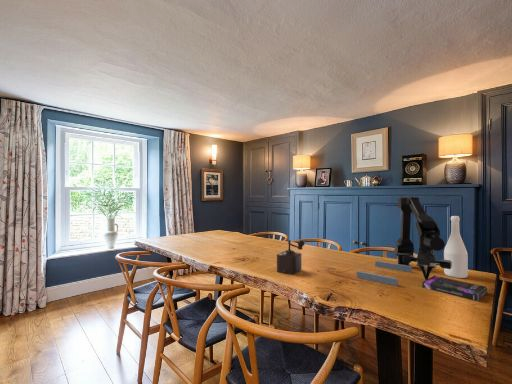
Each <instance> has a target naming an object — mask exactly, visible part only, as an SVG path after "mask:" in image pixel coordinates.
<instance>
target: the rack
mask: <svg viewBox="0 0 512 384" xmlns="http://www.w3.org/2000/svg"><path fill="white" fill-rule="evenodd" d="M374 267H378V268H382V269H388V270H389V269H390V270H394V271H399V272H400V271H401V272H405V273H412V271H413V270H412V269H413V268H412V265H411V266H406V265H400V264H398V263H394V262H393V263H392V262H387V261H386V262H385V261H380V260H375V262H374ZM356 278H357V279H362V280H366V281H372V282H375V283H376V282H377V283H380V284H386V285H390V286H391V285H392V286H395V287H398V286H399V278H395V277H391V276H386V275H382V274H381V275H380V274H377V273H376V274H375V273H371V272H364V271H360V270H357V271H356Z"/></svg>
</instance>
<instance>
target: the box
mask: <svg viewBox="0 0 512 384" xmlns="http://www.w3.org/2000/svg"><path fill="white" fill-rule="evenodd" d="M421 288H424V289H426V290H431V291H435V292H439V293H444V294H446V295H451V296H455V297H459V298H463V299H465V300H466V299H467V300H471V301H474V302H479V301H480V300H481V299H482V298H483V297H485V296H486V295H487V294H488V286H485V285H480V284H476V283H471V282H467V281H462V280H456V279H453V278H449V277H444V276H438V275H433V276H431V277H429V278H428V279H427V280H425V279H424V280H422V282H421Z"/></svg>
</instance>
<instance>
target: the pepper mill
mask: <svg viewBox="0 0 512 384" xmlns="http://www.w3.org/2000/svg"><path fill="white" fill-rule="evenodd" d="M296 243H297V245H296V244H292V243H291V240H290V239H289V240H288V243H287V245H288V249H287V250H284V251H282V252H279V253H277V254H276V272H277V273H280V274H288V275H296V274H297V275H298V273H300V272H301V271H302V253H301V252H296V251H294V250H292V249H291V246H292V247H293V248H297V249H298V250H300V251H301V250H303V247H304V246H305V240H303V239H299V240H297V242H296Z"/></svg>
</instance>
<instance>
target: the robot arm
mask: <svg viewBox="0 0 512 384" xmlns="http://www.w3.org/2000/svg"><path fill="white" fill-rule="evenodd" d="M396 203H397V207H398V210H399V211H400V216H401V217H400V237H399V238H398V240H396V245H395V248H394V250H393V254H394V255H395V256H397V264H400V265H406V266H412V264H411V262H415V263H416V266H418V267H419V269H420V270H421V273H422V274H423V277H424V281H425V280H427V279H429V278H430V276H431V272H432V270H433V269H436V268H437V266H439V267H440V268H441V269H444V268H446V269H451V267H452V262H451V261H450V260H444V258H441V259H440V260H437V259H436V258H437V257H436V255H435V254H434V253H435V252H434V251H437V252H440V251H442V250H443V249H445V246H446V243H445V242H444V240H443V239H442V238H441V237H440V236H441V230H440V228H439V226H438V224H437V222H436V221H435V219H434V218H433V217H432V216H430V215H428V214H427V213H426V211H425V209H424V207H423V206H422V203H421V202H420V198H419V197H418V196H401V197H399V199H397V202H396ZM412 214H413V216H414V218H415V220H416V221H415V228H416V230H417V232H418V233H417V235H418V253H417V256H416V257H415V255H414V254H415V253H414V251H415V248H414V245H415V244H414V243H413V242H412V240H411V221H412Z"/></svg>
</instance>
